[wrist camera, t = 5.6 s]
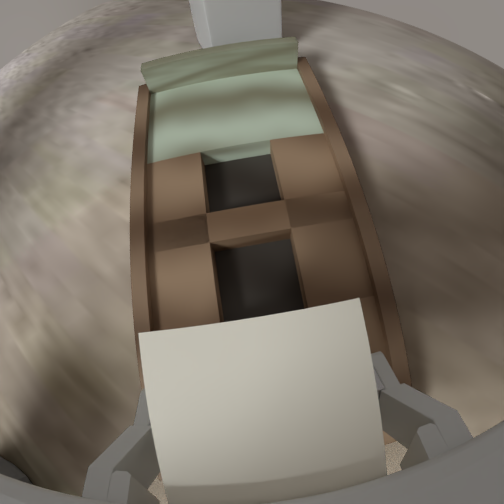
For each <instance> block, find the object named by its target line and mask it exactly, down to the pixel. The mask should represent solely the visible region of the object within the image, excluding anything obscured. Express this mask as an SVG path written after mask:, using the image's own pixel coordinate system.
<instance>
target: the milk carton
mask: <svg viewBox="0 0 504 504" xmlns="http://www.w3.org/2000/svg"><path fill="white" fill-rule="evenodd" d="M189 4H190V8H191V13H192V17H193V22H194V26H195V30H196V35H197V39H198V42H199V44H200V45H201V47H202V48H203V49H204V48H209V47H214V46H220V45H226V44H232V43H239V42H246V41H254V40H262V39H272V38H282V7H281V0H189Z"/></svg>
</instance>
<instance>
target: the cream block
mask: <svg viewBox="0 0 504 504" xmlns="http://www.w3.org/2000/svg"><path fill="white" fill-rule="evenodd" d="M138 335H139V345H140V354H141V363H142V371H143V378H144V386H145V392H146V399H147V405H148V411H149V417H150V423H151V429H152V434H153V439H154V444H155V449H156V454H157V458H158V463H159V467H160V472H161V476H162V480H163V484H164V488H165V492H166V496H167V500H168V504H264V503H272V502H279V501H286V500H292V499H298V498H303V497H308V496H313V495H318V494H323V493H327V492H331V491H336V490H340V489H344V488H347V487H351V486H355V485H358V484H362V483H365V482H368V481H372V480H375V479H378V478H381V477H384V476H387V468H386V457H385V447H384V438H383V429H382V422H381V414H380V407H379V400H378V393H377V387H376V380H375V374H374V368H373V363H372V357H371V352H370V346H369V341H368V336H367V331H366V326H365V321H364V316H363V312H362V307H361V303H360V298H356V299H351V300H347V301H342V302H337V303H332V304H327V305H322V306H317V307H311V308H306V309H301V310H295V311H290V312H284V313H278V314H273V315H267V316H261V317H255V318H248V319H242V320H235V321H229V322H222V323H215V324H208V325H201V326H193V327H186V328H178V329H169V330H161V331H152V332H143V333H138Z"/></svg>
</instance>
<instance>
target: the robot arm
mask: <svg viewBox="0 0 504 504" xmlns="http://www.w3.org/2000/svg"><path fill="white" fill-rule="evenodd" d="M371 357H372V363H373V368H374V374H375V380H376V387H377V393H378V400H379V407H380V414H381V422H382V429H383V431H384V432H386V433H387V434H388V435H390V436H391V437H392V438H394V439H395V440H396V441H398V442H399V443H400V444H402V445H403V446H405V447H406V448H407V449H408V450H407V452H406V454H405V456H404V458H403V460H402V461H401V463H400V466H401V469H402V470H401V471H398V472H396V473H393V474H390V475H387V476H384V477H381V478H378V479H375V480H372V481H368V482H365V483H362V484H358V485H355V486H351V487H347V488H344V489H340V490H336V491H331V492H327V493H323V494H318V495H313V496H308V497H303V498H298V499H292V500H286V501H279V502H272V503H264V504H504V420H503V421H502V422H500V423H499V424H497V425H495V426H494V427H492V428H490V429H488V430H487V431H485V432H483V433H481V434H480V435H478V436H476V437H474V438H473V437H472V435H471V433H470V432H469V430H468V428H467V426H466V425H465V423H464V421H463V420H462V418H461V416H460V414H459V413H458V411H457V410H455V409H453V408H451V407H449V406H447V405H445V404H443V403H441V402H439V401H437V400H436V399H434V398H432V397H430V396H428V395H426V394H424V393H422V392H420V391H418V390H416V389H414V388H412V387H410V386H409V385H407V384H405V383H403V384H400V383H399V381H398V379H397V377H396V376H395V374H394V372H393V370H392V369H391V367H390V365H389V363H388V361H387V360H386V358H385V356H384V354H383V353H382V352H381V351H379V352H376V353H372V354H371ZM159 473H160V467H159V463H158V458H157V454H156V449H155V444H154V439H153V434H152V429H151V423H150V417H149V411H148V405H147V399H146V392H145V388H144V389H143V390H142V391H141V393H140V397H139V402H138V406H137V411H136V415H135V420H134V425H133V426H129V427H128V428H127V429H126V430H125V431H124V432H123V433H122V434H121V435H120V436H119V437H118V438H117V439H116V440H115V441H114V442H113V443H112V444H111V445H110V446H109V447H108V448H107V449H106V450H105V451H104V452H103V453H102V454H101V455H100V456H99V457H98V458H97V459H96V460H95V461H94V462H93V463H92V464H91V465H90V466H89V468H88V472H87V476H86V480H85V484H84V489H83V493H82V497H79V496H75V495H70V494H66V493H61V492H57V491H53V490H50V489H46V488H42V487H39V486H35V485H32V484H29V483H26V482H22V481H19V480H16V479H13V478H11V477H8V476H5V475H2V474H0V504H160V501H159V500H158V499H157V498H156V497H155V496H154V495H153V494H152V493H150V492H149V491H148V490H147V489H148V488H149V487H150V485H151V484H152V482H153V481H154V480H155V478H156V477H157V475H158V474H159Z"/></svg>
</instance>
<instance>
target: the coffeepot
mask: <svg viewBox="0 0 504 504" xmlns="http://www.w3.org/2000/svg"><path fill="white" fill-rule="evenodd" d="M0 474H2V475H5V476H8V477H11V478H13V479H16V480H19V481H22V482H26V483H29V484H32V483H31V481H30V480H29V479H28V478H27V476H26V475H25V474H24V473H23V472H22V471H21V470H20V469H18V468H17V467H16V466H15V465H14V464H12V463H10V462H9V461H7V460H5V459H3V458H2V457H1V456H0ZM32 485H33V484H32Z"/></svg>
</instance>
